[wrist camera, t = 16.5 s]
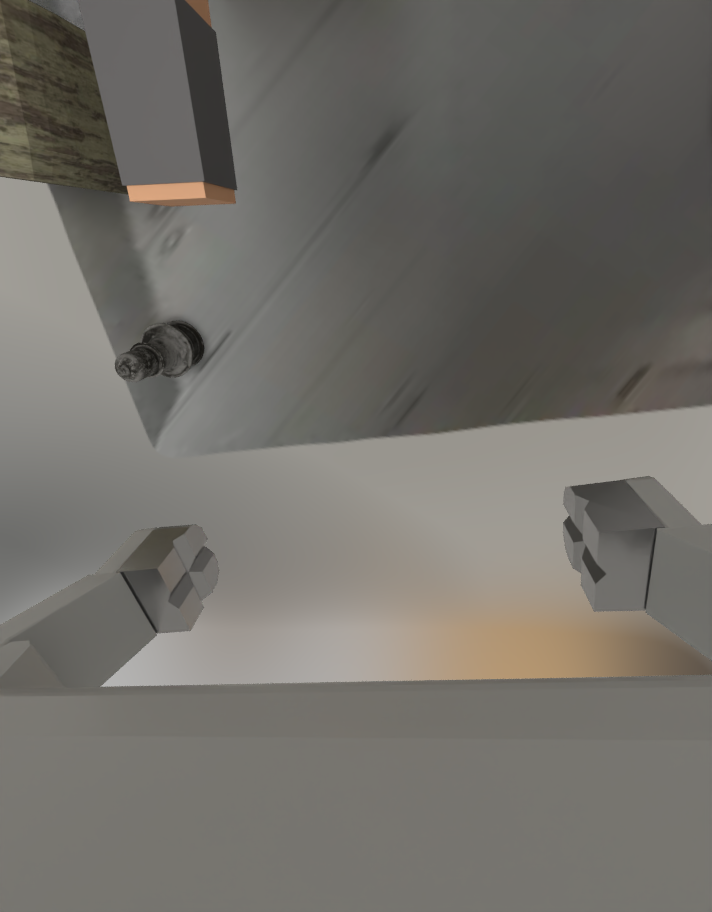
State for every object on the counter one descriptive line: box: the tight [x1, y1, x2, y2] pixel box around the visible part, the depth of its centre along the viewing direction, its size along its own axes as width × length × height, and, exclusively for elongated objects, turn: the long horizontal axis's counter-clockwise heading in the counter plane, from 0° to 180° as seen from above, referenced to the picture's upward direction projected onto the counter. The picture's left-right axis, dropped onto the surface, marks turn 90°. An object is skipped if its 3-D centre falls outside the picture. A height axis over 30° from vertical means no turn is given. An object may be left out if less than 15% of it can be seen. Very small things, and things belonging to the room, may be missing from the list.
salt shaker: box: [115, 321, 204, 382], centre depth 44 cm, size 6×6×12 cm
